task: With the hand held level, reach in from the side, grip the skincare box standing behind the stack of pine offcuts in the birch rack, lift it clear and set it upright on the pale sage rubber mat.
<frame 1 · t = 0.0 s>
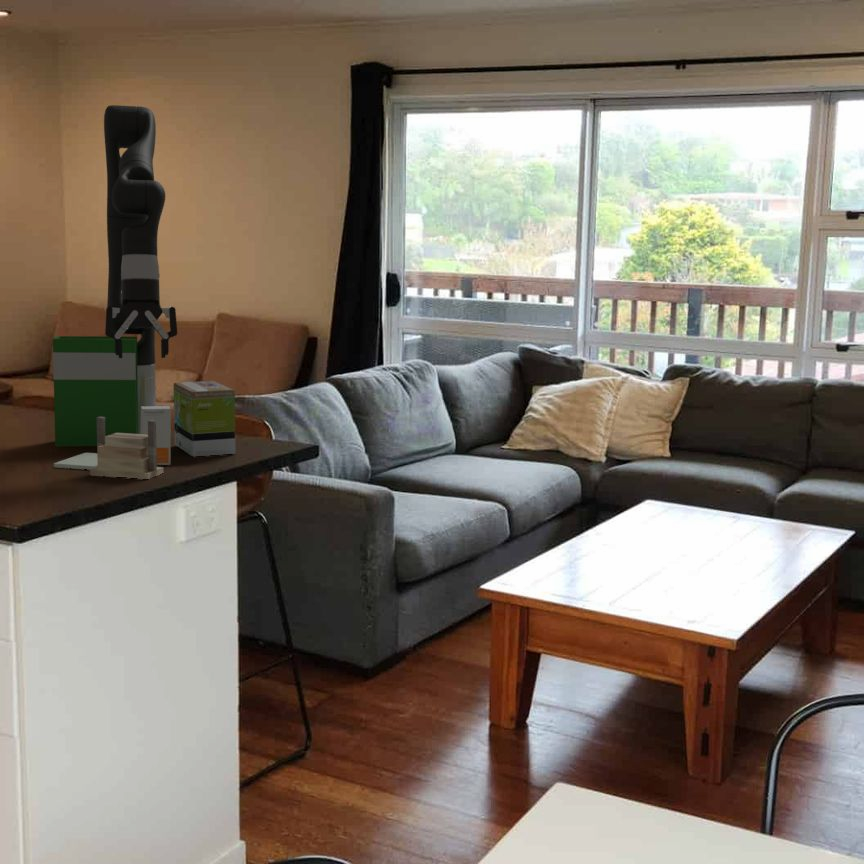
hand: (141, 358, 247), 22 cm above the table, tool pointing down, fingers open, 8 cm apart
tea box: (204, 451, 270), on the table
offcut rack: (127, 474, 242), on the table
skincare box: (156, 464, 253), on the table
hardback book: (97, 444, 275), on the table
sage mat: (89, 463, 252), on the table
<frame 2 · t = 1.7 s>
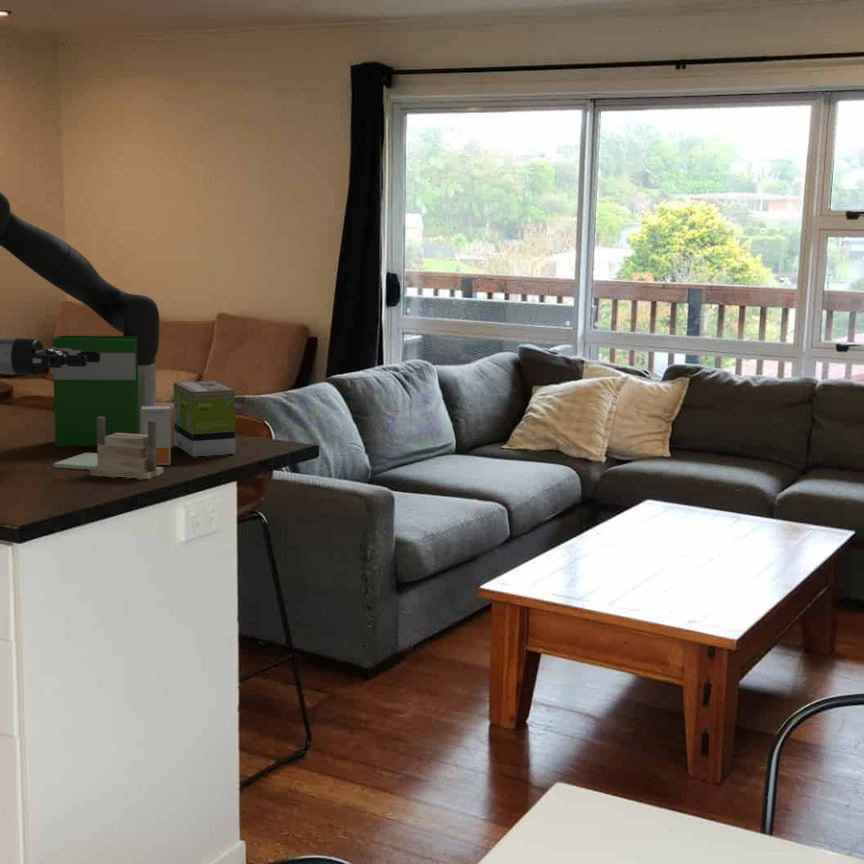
hand: (93, 359, 251), 22 cm above the table, tool horizontal, fingers open, 8 cm apart
nothing on the table moved.
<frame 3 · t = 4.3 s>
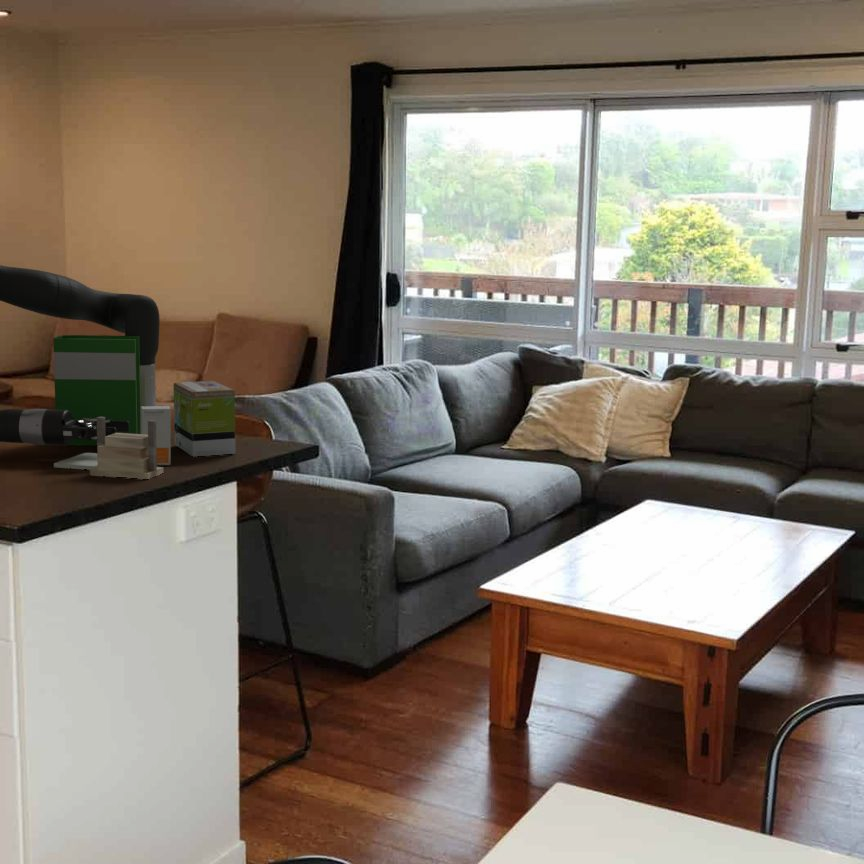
hand: (122, 429, 252), 7 cm above the table, tool horizontal, fingers open, 8 cm apart
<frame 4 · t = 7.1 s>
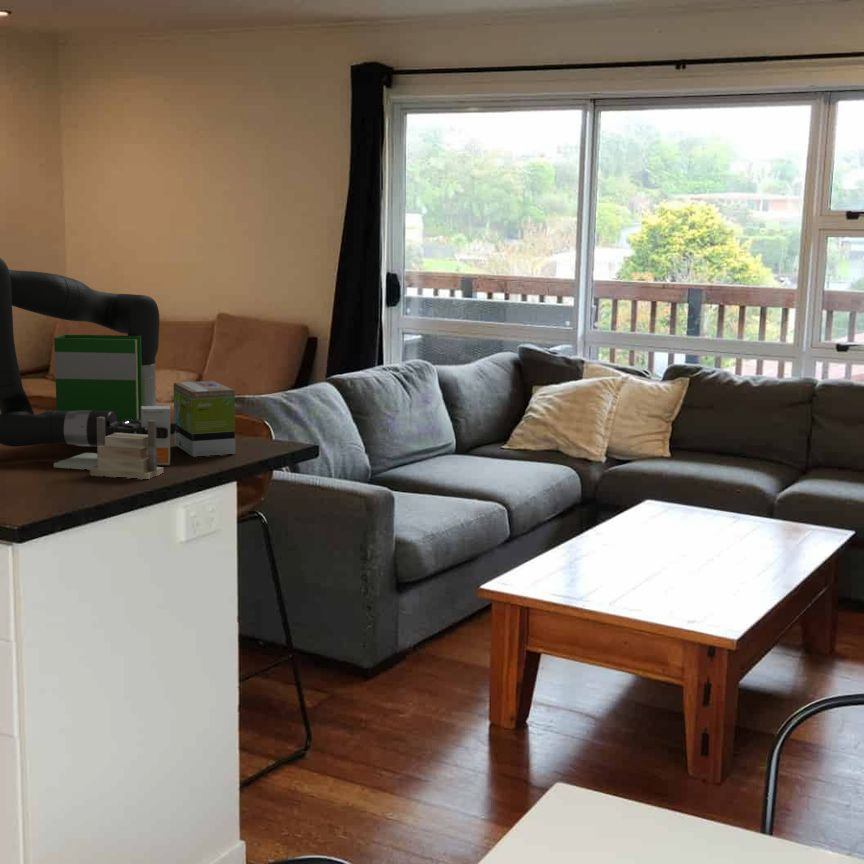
hand: (170, 430, 252), 7 cm above the table, tool horizontal, fingers closed on skincare box, 5 cm apart
skincare box: (156, 464, 253), on the table, touching gripper
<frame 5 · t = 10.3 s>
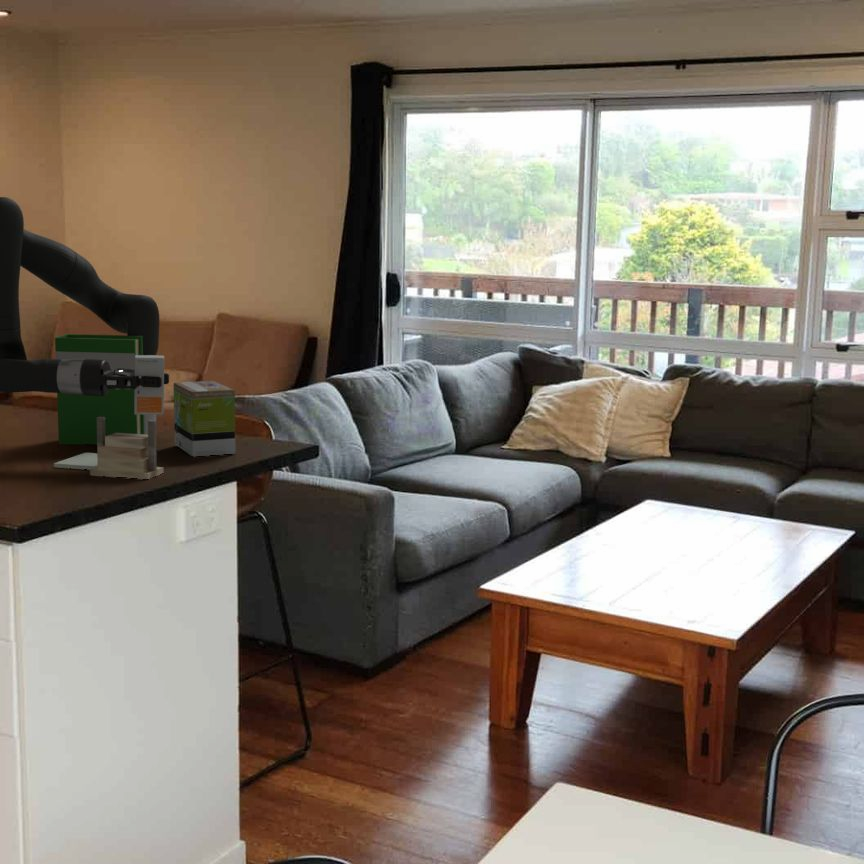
hand: (164, 380, 250), 18 cm above the table, tool horizontal, fingers closed on skincare box, 5 cm apart
skincare box: (149, 414, 251), point 10 cm above the table, touching gripper
when the fingers open (9 cm above the table, at t = 14.0 s): skincare box drops 1 cm, resting on sage mat.
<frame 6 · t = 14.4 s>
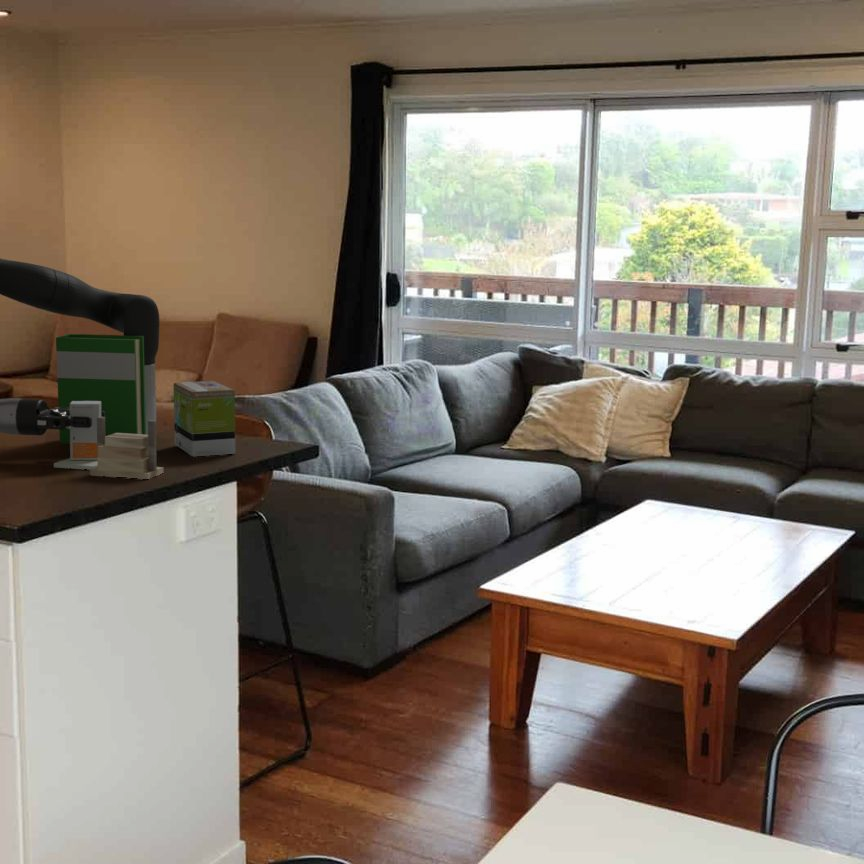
hand: (98, 419, 250), 9 cm above the table, tool horizontal, fingers open, 8 cm apart
skincare box: (86, 459, 252), point 1 cm above the table, touching sage mat
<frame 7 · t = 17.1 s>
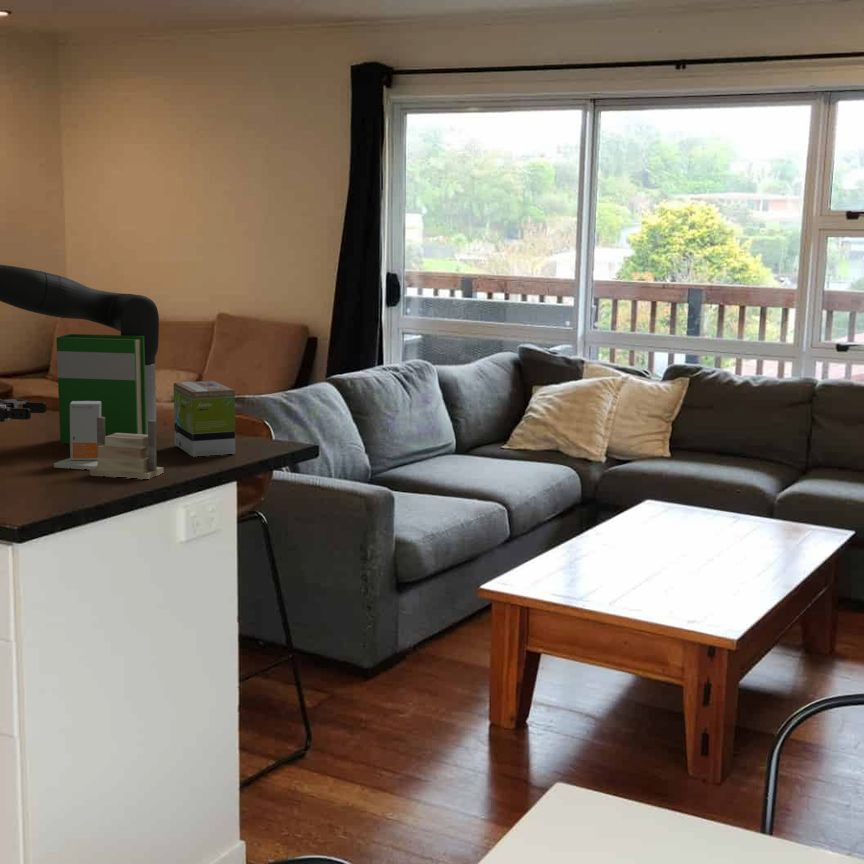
hand: (37, 410, 251), 11 cm above the table, tool horizontal, fingers open, 8 cm apart
hardback book: (104, 442, 277), on the table, touching arm
everything else where it was.
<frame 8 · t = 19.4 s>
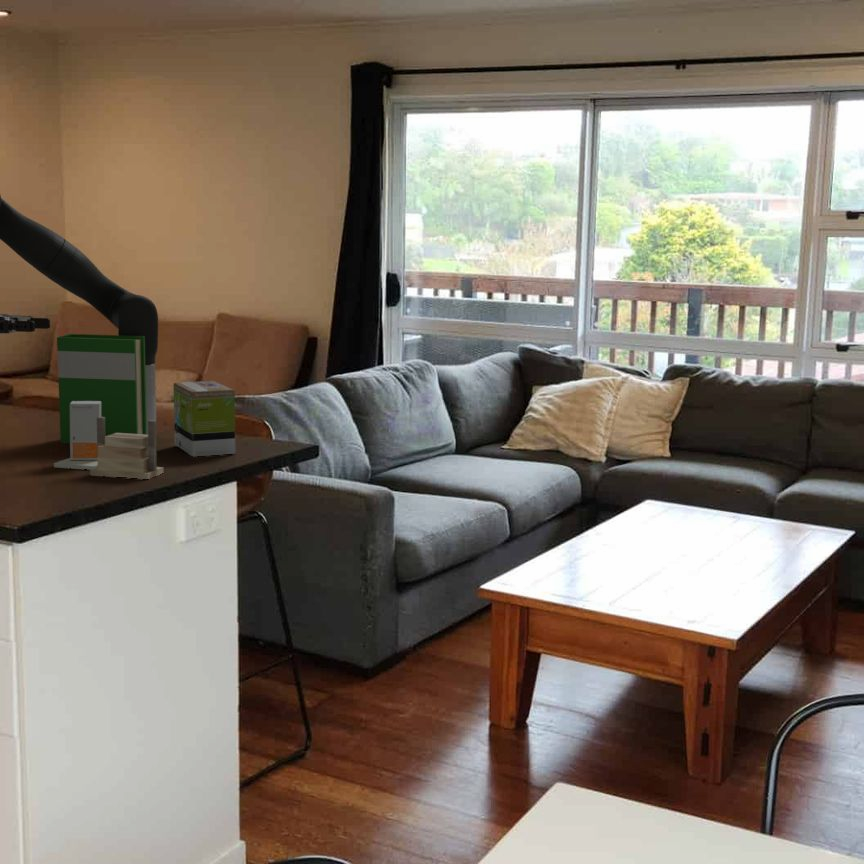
hand: (42, 325, 253), 28 cm above the table, tool horizontal, fingers open, 8 cm apart
nothing on the table moved.
at the end: skincare box 0.7 cm off-centre on the sage mat, point 0.6 cm above the sage mat's base; skincare box tilted 0°; the gripper is holding nothing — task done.
